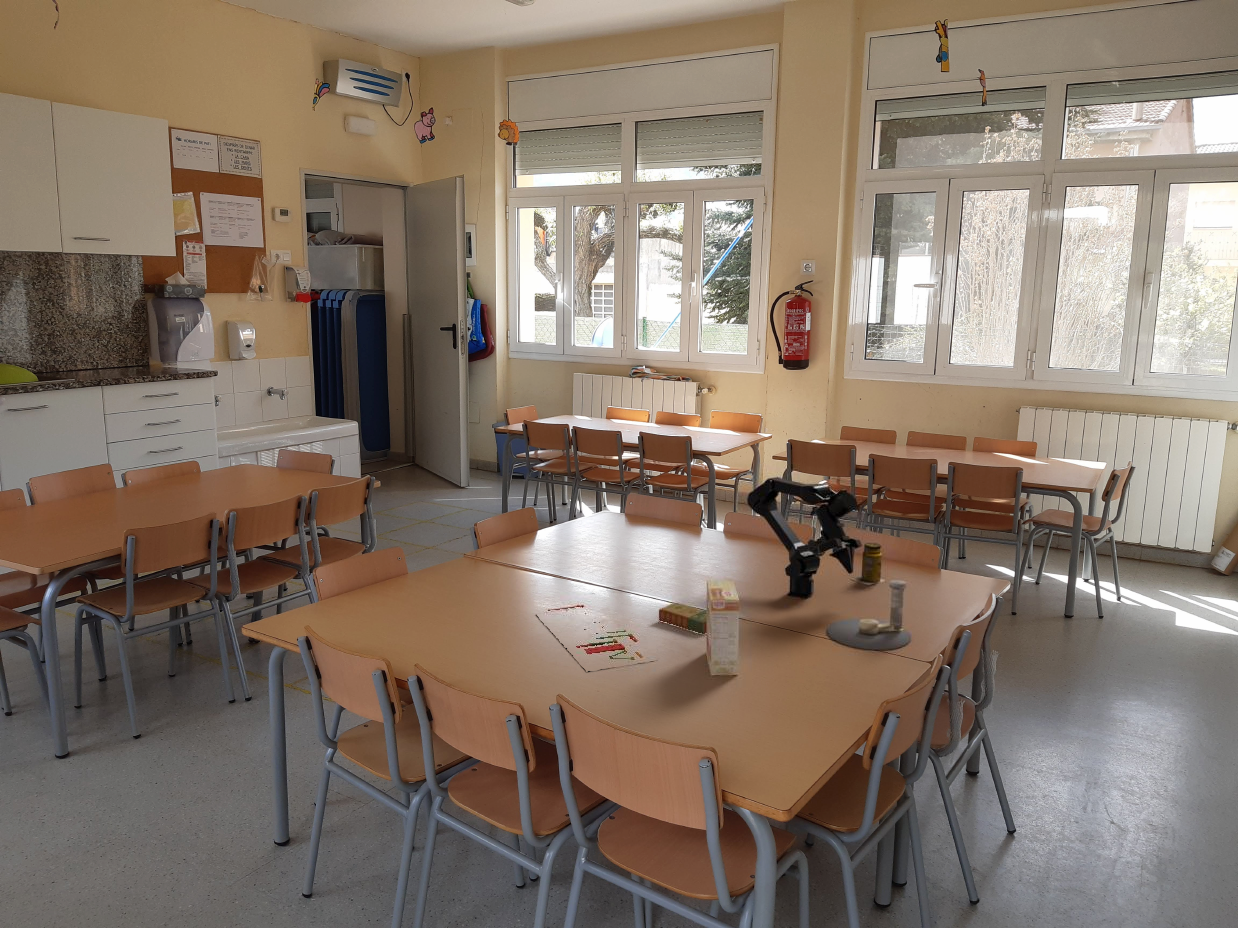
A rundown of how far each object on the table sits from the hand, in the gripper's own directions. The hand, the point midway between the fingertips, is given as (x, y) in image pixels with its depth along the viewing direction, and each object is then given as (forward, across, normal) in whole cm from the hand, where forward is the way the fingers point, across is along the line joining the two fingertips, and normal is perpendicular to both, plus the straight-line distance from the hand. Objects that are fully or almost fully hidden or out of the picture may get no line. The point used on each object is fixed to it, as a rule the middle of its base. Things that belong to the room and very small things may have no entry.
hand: (851, 573), depth 258 cm
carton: (0, +33, -38) cm, 50 cm away
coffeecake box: (+15, +51, -21) cm, 57 cm away
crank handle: (+18, +9, +5) cm, 21 cm away
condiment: (0, -34, -9) cm, 35 cm away
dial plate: (+18, +11, +2) cm, 22 cm away
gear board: (-4, +56, -54) cm, 78 cm away
